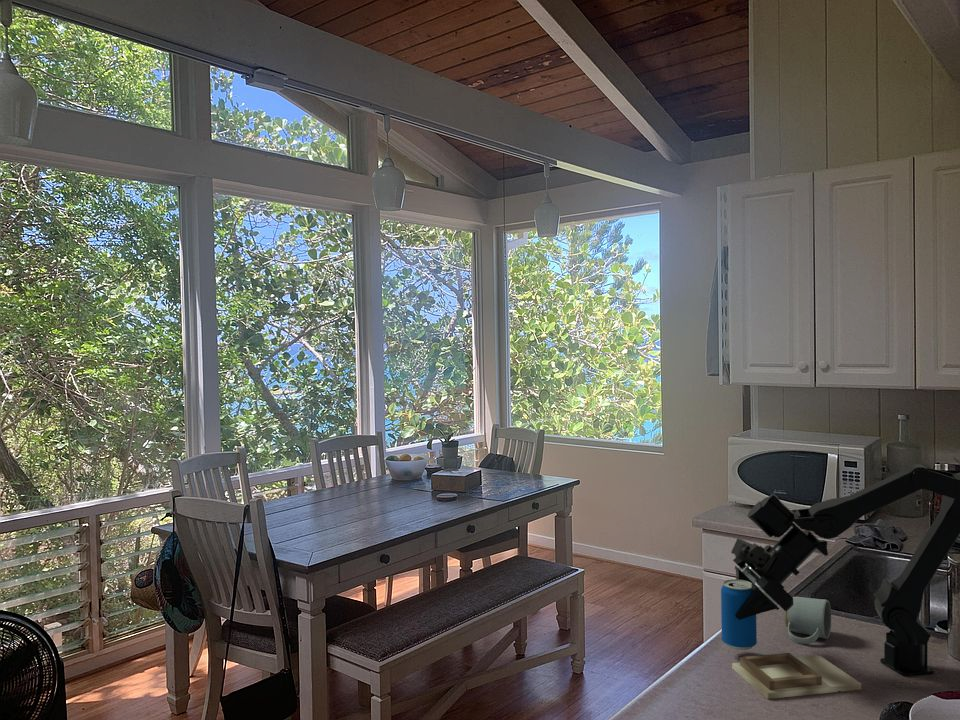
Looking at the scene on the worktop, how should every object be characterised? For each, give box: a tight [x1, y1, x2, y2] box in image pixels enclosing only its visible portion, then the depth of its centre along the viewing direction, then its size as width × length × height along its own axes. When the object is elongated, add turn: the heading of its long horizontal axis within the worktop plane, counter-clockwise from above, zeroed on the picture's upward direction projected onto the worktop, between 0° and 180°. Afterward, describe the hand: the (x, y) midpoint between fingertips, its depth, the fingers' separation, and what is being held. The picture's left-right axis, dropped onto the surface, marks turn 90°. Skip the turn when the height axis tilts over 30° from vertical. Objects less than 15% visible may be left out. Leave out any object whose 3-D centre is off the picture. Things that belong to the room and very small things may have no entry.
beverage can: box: [720, 578, 758, 651], centre depth 144 cm, size 6×6×12 cm
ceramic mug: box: [783, 596, 832, 645], centre depth 153 cm, size 11×8×8 cm
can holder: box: [731, 652, 862, 700], centre depth 134 cm, size 18×12×2 cm, turn 100°
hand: (731, 611), depth 144 cm, fingers closed on beverage can, 6 cm apart
